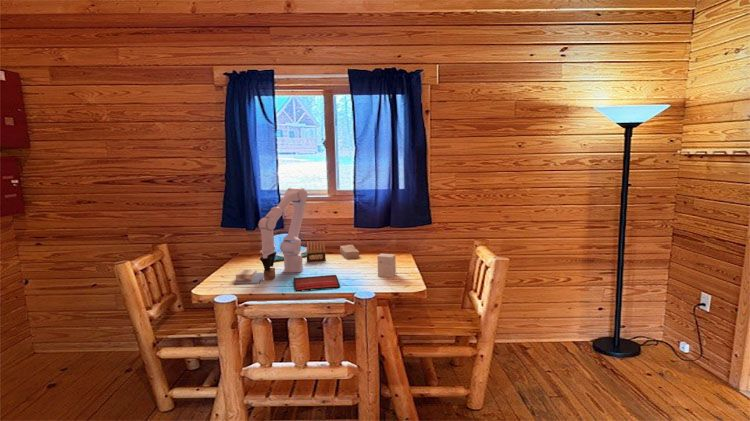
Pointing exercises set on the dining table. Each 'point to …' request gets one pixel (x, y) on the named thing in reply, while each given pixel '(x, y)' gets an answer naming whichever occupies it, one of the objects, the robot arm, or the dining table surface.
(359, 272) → the dining table surface
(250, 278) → the board
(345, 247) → the brick
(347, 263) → the dining table surface
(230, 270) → the dining table surface
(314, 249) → the ammunition clip
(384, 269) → the small box
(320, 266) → the dining table surface
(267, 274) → the walnut block
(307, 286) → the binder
